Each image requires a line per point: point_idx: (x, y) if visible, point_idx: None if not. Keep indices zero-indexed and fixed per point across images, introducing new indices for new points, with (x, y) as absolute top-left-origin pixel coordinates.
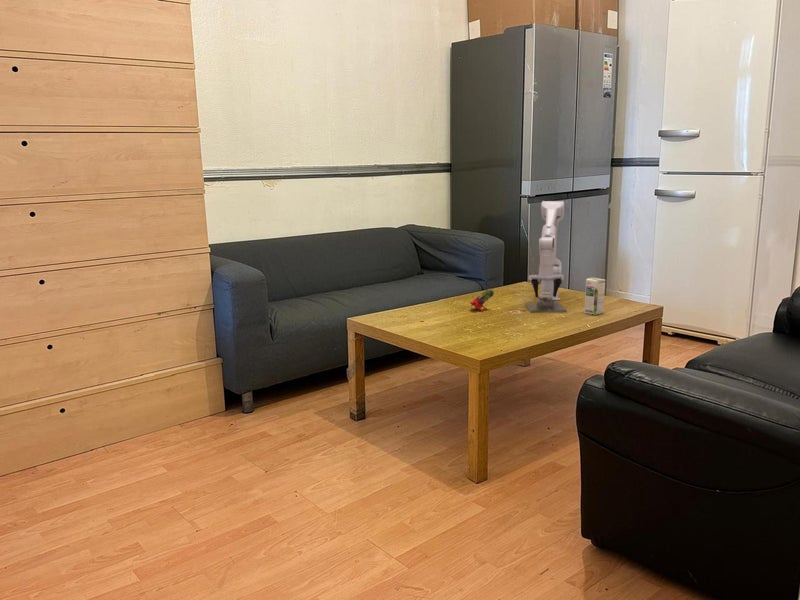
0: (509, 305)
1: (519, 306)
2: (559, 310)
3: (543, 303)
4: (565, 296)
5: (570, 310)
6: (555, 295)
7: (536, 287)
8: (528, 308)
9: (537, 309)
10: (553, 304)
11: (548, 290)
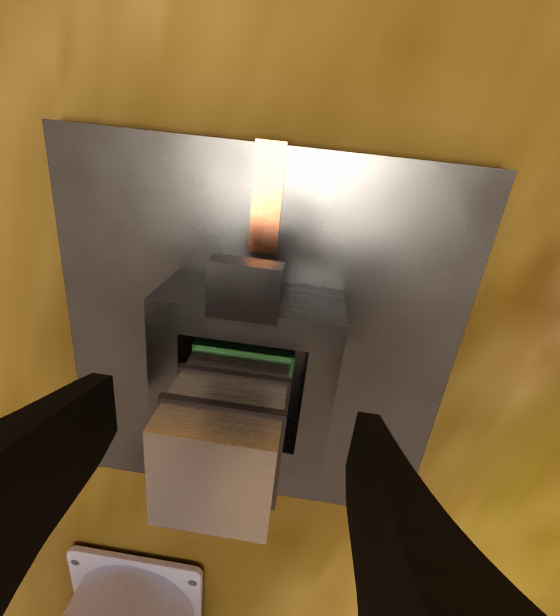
0: (548, 506)
1: (475, 457)
2: (140, 129)
3: (297, 303)
4: (24, 609)
5: (17, 205)
6: (83, 380)
7: (444, 554)
8: (455, 333)
9: (407, 209)
10: (171, 282)
11: (152, 511)
